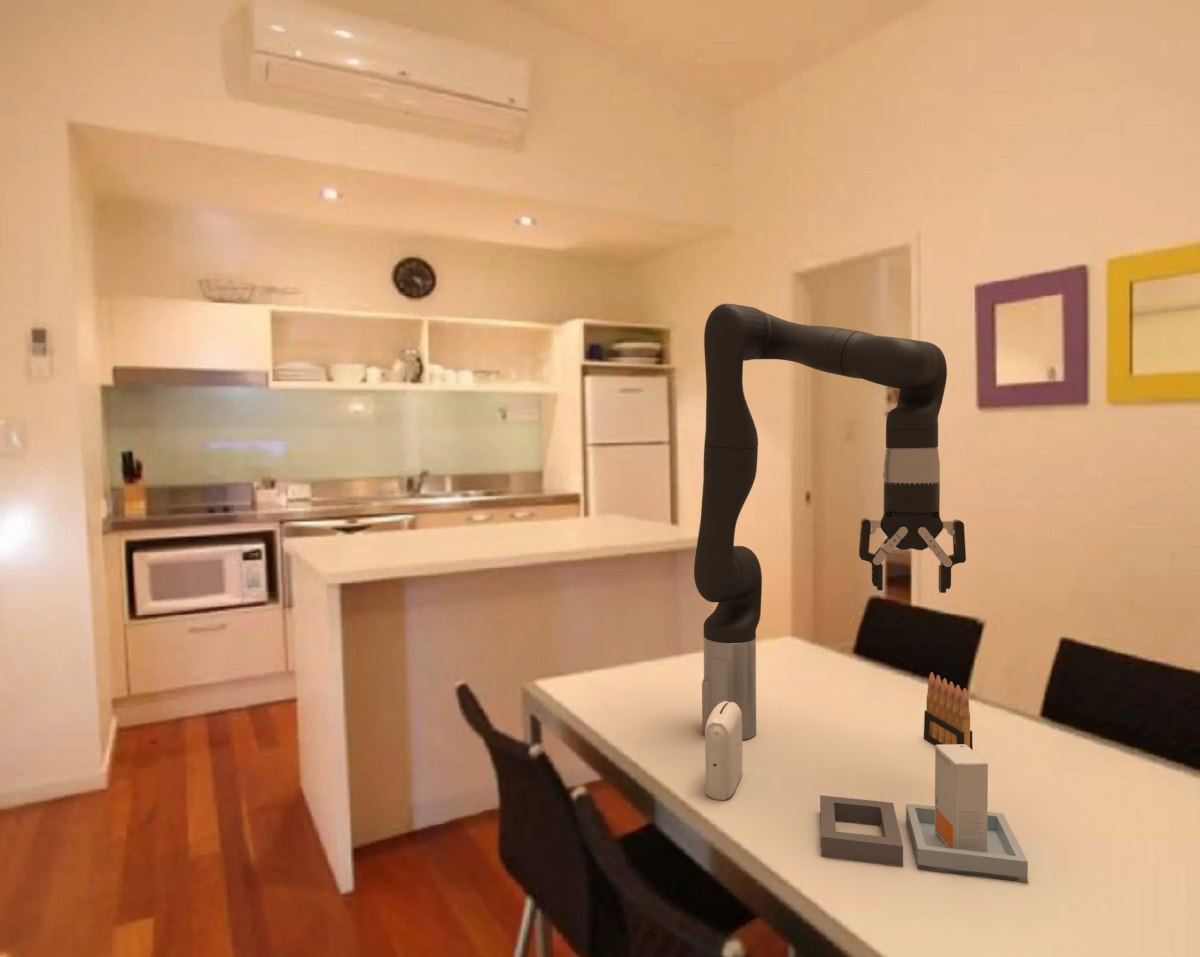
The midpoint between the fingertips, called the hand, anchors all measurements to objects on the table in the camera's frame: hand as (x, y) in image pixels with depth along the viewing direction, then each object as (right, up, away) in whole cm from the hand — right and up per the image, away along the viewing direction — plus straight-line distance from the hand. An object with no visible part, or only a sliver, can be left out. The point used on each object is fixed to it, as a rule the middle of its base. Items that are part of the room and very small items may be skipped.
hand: (910, 590), depth 112 cm
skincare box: (+1, -31, -14) cm, 34 cm away
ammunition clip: (+13, -29, +17) cm, 36 cm away
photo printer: (-26, -31, +5) cm, 41 cm away
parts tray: (+1, -31, -14) cm, 34 cm away
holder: (-11, -31, -11) cm, 35 cm away
